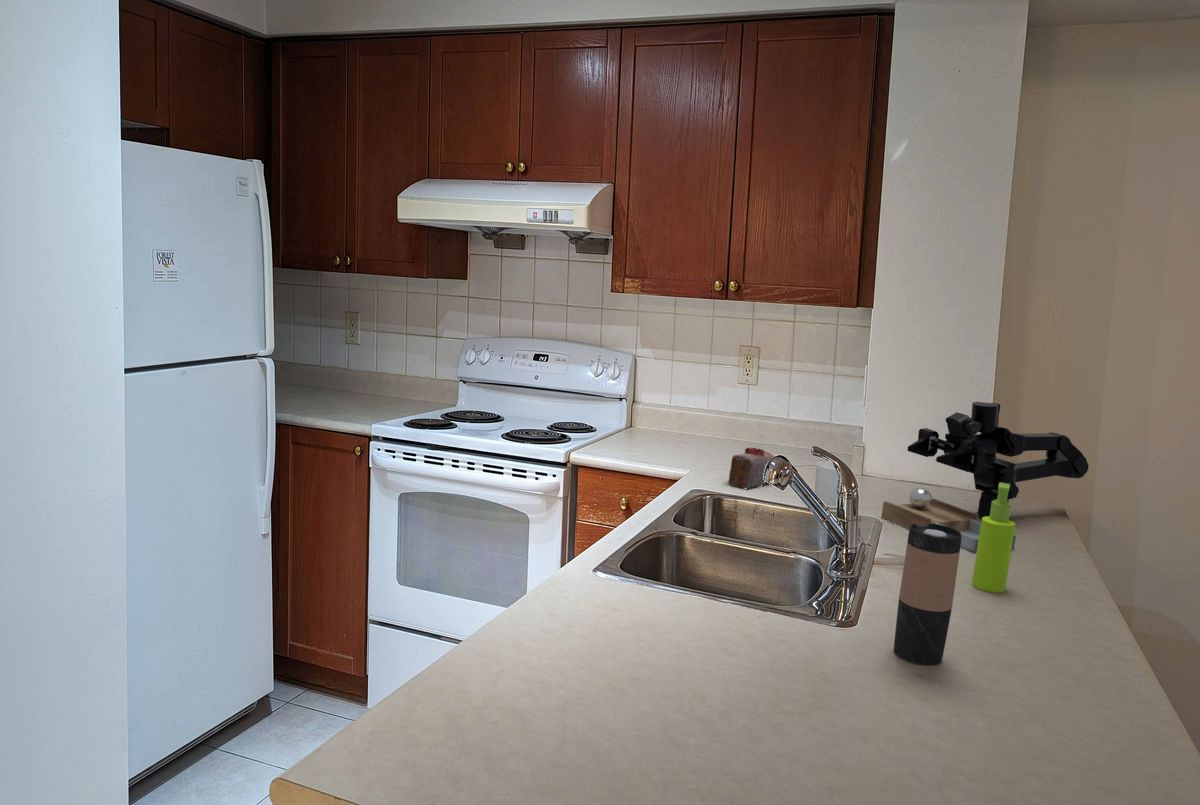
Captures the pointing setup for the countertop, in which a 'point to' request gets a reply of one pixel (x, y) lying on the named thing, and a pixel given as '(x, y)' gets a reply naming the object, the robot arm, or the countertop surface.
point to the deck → (929, 515)
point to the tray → (973, 537)
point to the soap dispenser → (994, 545)
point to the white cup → (826, 483)
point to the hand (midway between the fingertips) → (922, 454)
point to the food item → (749, 468)
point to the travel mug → (926, 593)
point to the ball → (920, 497)
